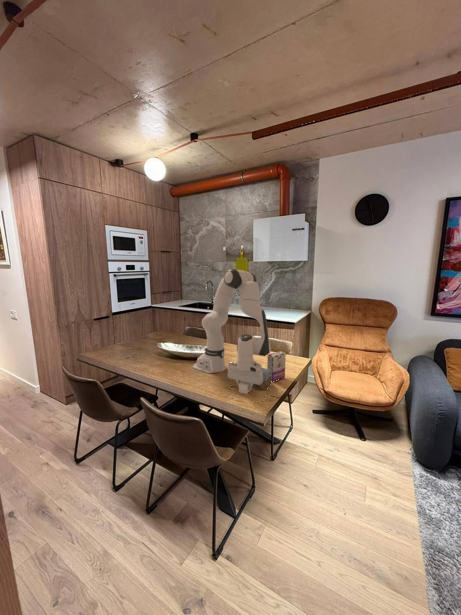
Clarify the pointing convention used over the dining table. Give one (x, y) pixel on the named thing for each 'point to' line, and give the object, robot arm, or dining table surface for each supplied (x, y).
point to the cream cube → (244, 387)
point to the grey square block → (265, 374)
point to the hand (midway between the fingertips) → (244, 388)
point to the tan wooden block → (263, 384)
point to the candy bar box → (276, 365)
